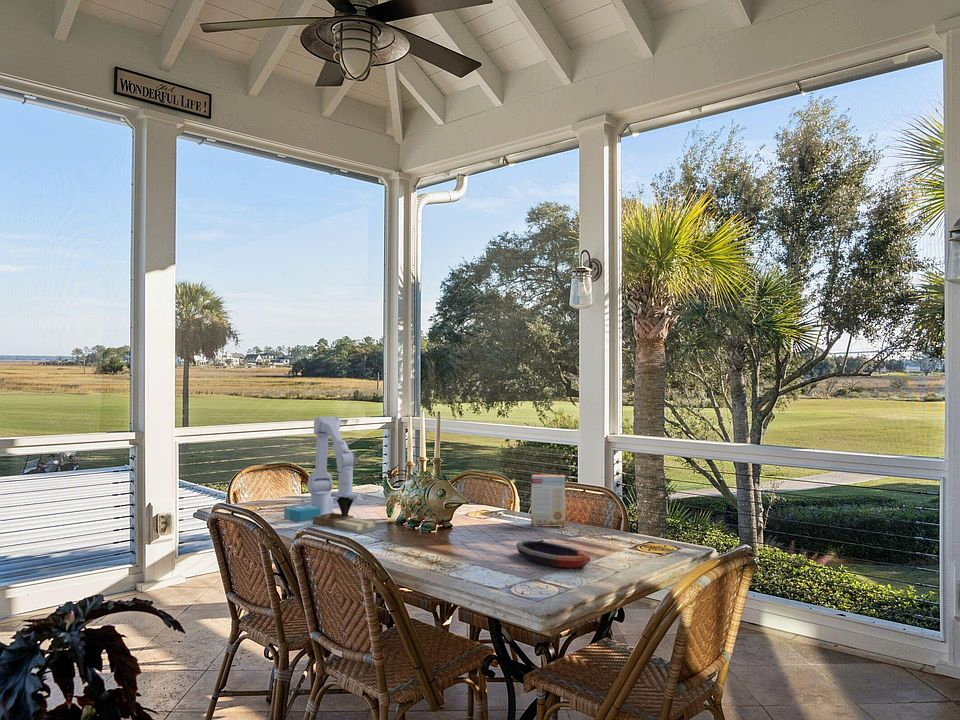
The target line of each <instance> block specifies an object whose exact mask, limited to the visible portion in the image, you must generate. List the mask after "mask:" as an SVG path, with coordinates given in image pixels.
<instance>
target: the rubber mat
mask: <svg viewBox="0 0 960 720" xmlns="http://www.w3.org/2000/svg"><path fill="white" fill-rule="evenodd" d="M386 528H389V527H388V525H381V524H377V523H376V524H375V526H374V527H370V528H366V529H362V530H358V531H356V530H350V529H344V528H338V527H330V529H331V530H334V531H335V530H336V531H341V532H348V533H354V534H359V535H362V534H363V535H364V534H367V533H371V532H374V531H379V530H381V529H386Z"/></svg>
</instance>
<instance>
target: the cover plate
mask: <svg viewBox="0 0 960 720" xmlns="http://www.w3.org/2000/svg"><path fill="white" fill-rule="evenodd" d="M376 522H377V521H376V520H371V519H365V518H359V517H358V518H357V517H353V518H350V519H345V520H341V521H337V522H335V527H338V528H344V529H350V530H356V531H358V530H362V529H366V528H370V527H374V526H375V524H376V525H377V523H376Z"/></svg>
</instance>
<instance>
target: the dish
mask: <svg viewBox="0 0 960 720" xmlns="http://www.w3.org/2000/svg"><path fill="white" fill-rule="evenodd" d="M515 546H516V548H517V551H518V553H519V555H521V557H523V558H525V559H526V560H529V561H530V562H533V563H537V564H540V565H543V566H549V567H554V568H560V569H561V568H563V569H564V568H565V569H575V568H577V569H578V568H583V567H586V566H587V564H588V563H589V562H591V557H590V556H589V555H588V554H587V553H586V552H584V550H581V549H578V548H575V547H571V546H568V545H564V544H558V543H554V542H550V541H549V542H548V541H544V540H543V539H540V540H520V541H518V542H517V543H516V545H515Z"/></svg>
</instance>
